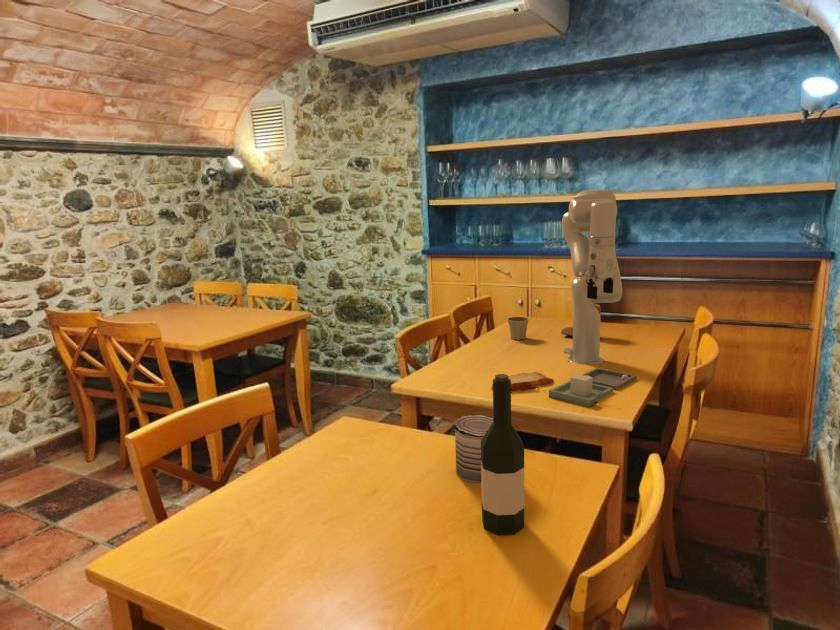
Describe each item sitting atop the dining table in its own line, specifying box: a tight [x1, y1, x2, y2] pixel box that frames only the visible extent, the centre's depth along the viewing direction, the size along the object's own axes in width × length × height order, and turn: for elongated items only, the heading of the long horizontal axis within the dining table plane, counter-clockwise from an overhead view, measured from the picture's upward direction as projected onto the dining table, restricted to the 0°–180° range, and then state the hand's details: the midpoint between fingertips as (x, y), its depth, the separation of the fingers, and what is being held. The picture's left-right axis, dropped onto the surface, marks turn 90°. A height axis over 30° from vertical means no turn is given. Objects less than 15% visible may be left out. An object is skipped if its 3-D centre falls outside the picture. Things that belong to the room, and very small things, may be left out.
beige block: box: [569, 373, 593, 396], centre depth 182 cm, size 5×4×5 cm
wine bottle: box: [480, 373, 525, 536], centre depth 112 cm, size 8×8×30 cm
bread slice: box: [491, 371, 555, 392], centre depth 194 cm, size 18×18×4 cm
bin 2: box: [582, 367, 638, 391], centre depth 194 cm, size 14×14×3 cm
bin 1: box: [548, 380, 614, 408], centre depth 183 cm, size 14×14×2 cm
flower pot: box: [506, 316, 530, 341], centre depth 254 cm, size 9×9×9 cm
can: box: [452, 414, 493, 485], centre depth 135 cm, size 11×11×12 cm
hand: (600, 295), depth 188 cm, fingers open, 9 cm apart
